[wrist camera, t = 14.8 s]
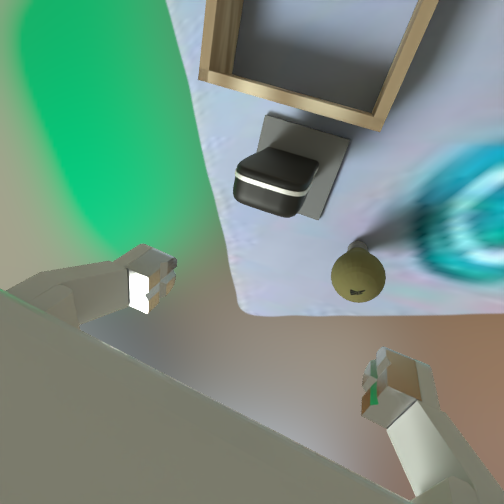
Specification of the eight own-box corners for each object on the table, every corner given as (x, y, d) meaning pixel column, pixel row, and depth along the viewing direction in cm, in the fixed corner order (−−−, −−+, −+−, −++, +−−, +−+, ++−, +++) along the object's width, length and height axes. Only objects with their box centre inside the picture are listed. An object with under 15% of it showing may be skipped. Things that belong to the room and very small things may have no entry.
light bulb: (351, 272, 39) (349, 320, 31) (326, 242, 38) (318, 283, 30) (389, 252, 36) (399, 300, 28) (364, 219, 35) (366, 258, 27)
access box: (473, -97, 21) (508, -156, 16) (376, 125, 30) (380, 132, 25) (253, -132, 24) (226, -191, 19) (222, 82, 33) (198, 79, 28)
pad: (350, 139, 31) (350, 140, 31) (318, 218, 37) (318, 220, 36) (266, 114, 33) (265, 115, 32) (248, 194, 38) (246, 195, 38)
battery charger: (259, 175, 36) (223, 204, 26) (265, 144, 34) (230, 164, 24) (311, 191, 35) (294, 228, 25) (322, 161, 33) (307, 188, 23)
